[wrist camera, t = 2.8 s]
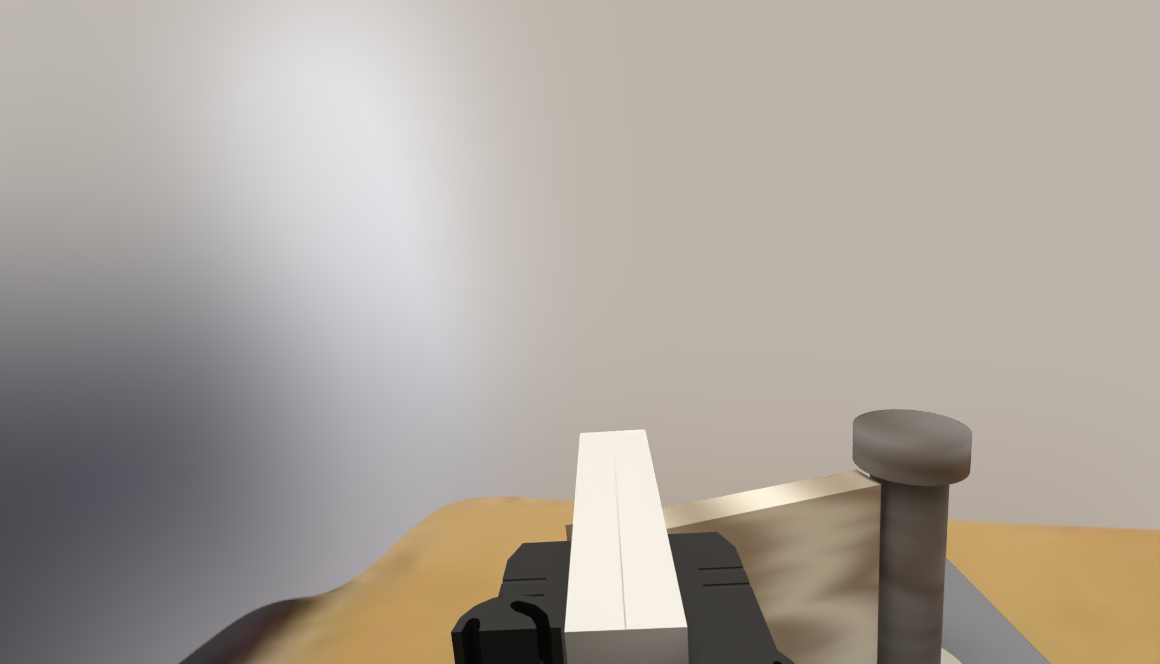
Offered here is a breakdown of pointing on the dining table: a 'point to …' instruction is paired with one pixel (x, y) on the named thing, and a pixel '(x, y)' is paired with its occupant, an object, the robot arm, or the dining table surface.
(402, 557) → the dining table surface
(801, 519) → the wooden panel with post
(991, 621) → the dial plate
